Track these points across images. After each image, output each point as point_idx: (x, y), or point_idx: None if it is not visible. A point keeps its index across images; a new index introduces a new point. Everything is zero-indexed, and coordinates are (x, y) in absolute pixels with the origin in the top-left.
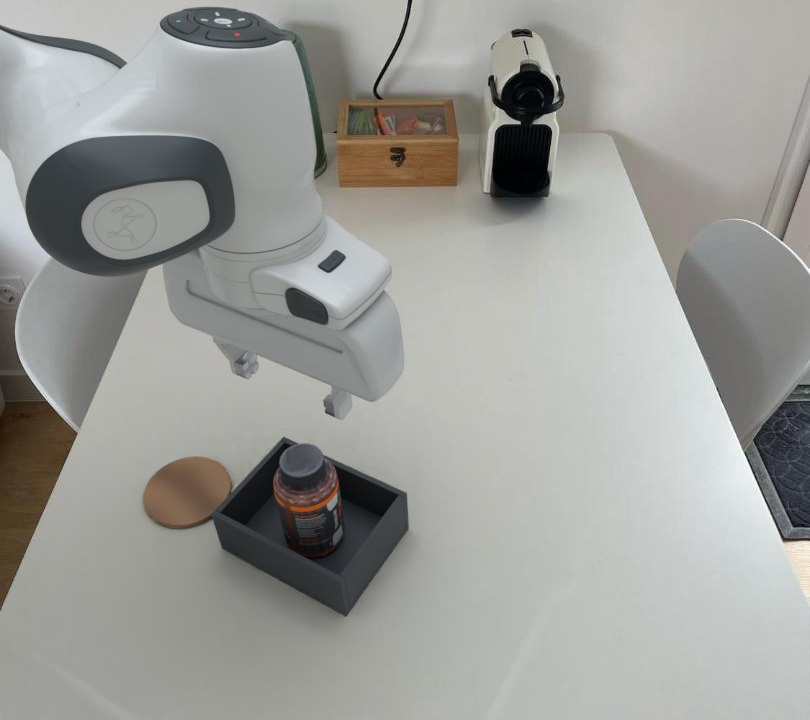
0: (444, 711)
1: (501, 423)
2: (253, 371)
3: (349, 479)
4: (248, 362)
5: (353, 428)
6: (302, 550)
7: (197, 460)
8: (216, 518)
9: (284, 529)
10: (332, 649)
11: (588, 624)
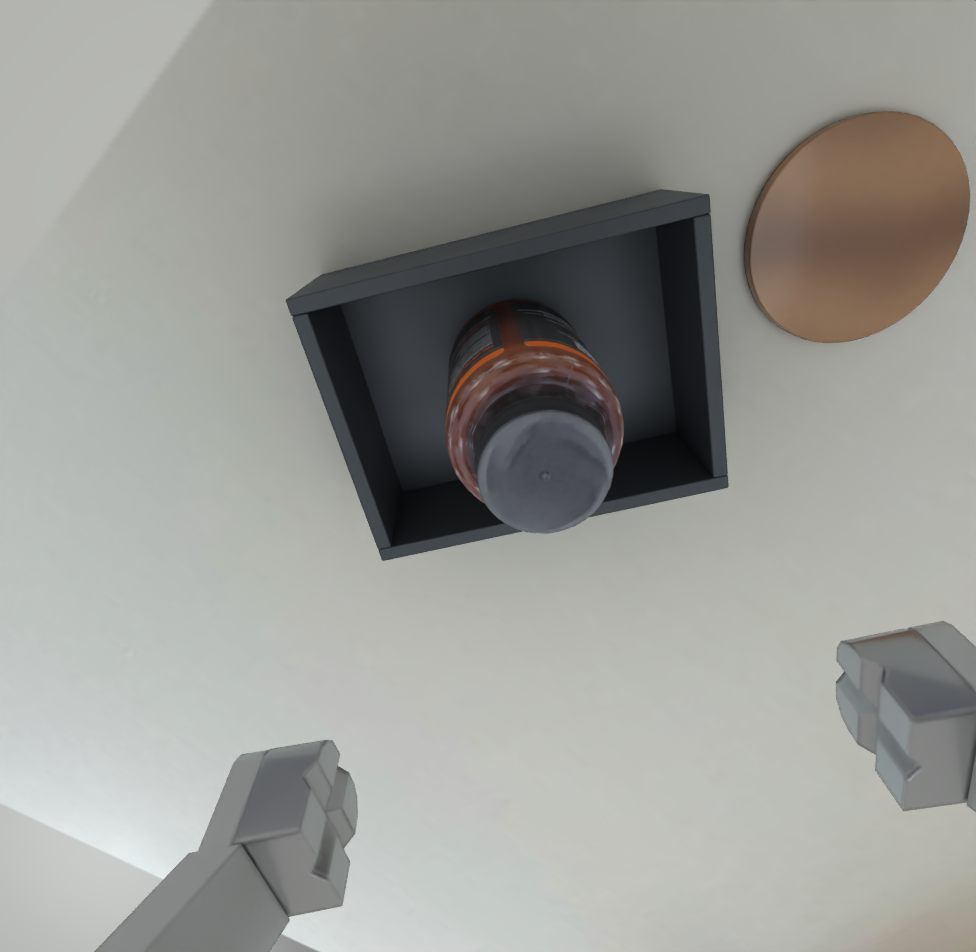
0: (26, 269)
1: (448, 738)
2: (847, 690)
3: None
4: (901, 744)
5: (655, 583)
6: (485, 312)
7: (895, 310)
8: (688, 198)
9: (537, 314)
10: (276, 199)
11: (37, 560)
